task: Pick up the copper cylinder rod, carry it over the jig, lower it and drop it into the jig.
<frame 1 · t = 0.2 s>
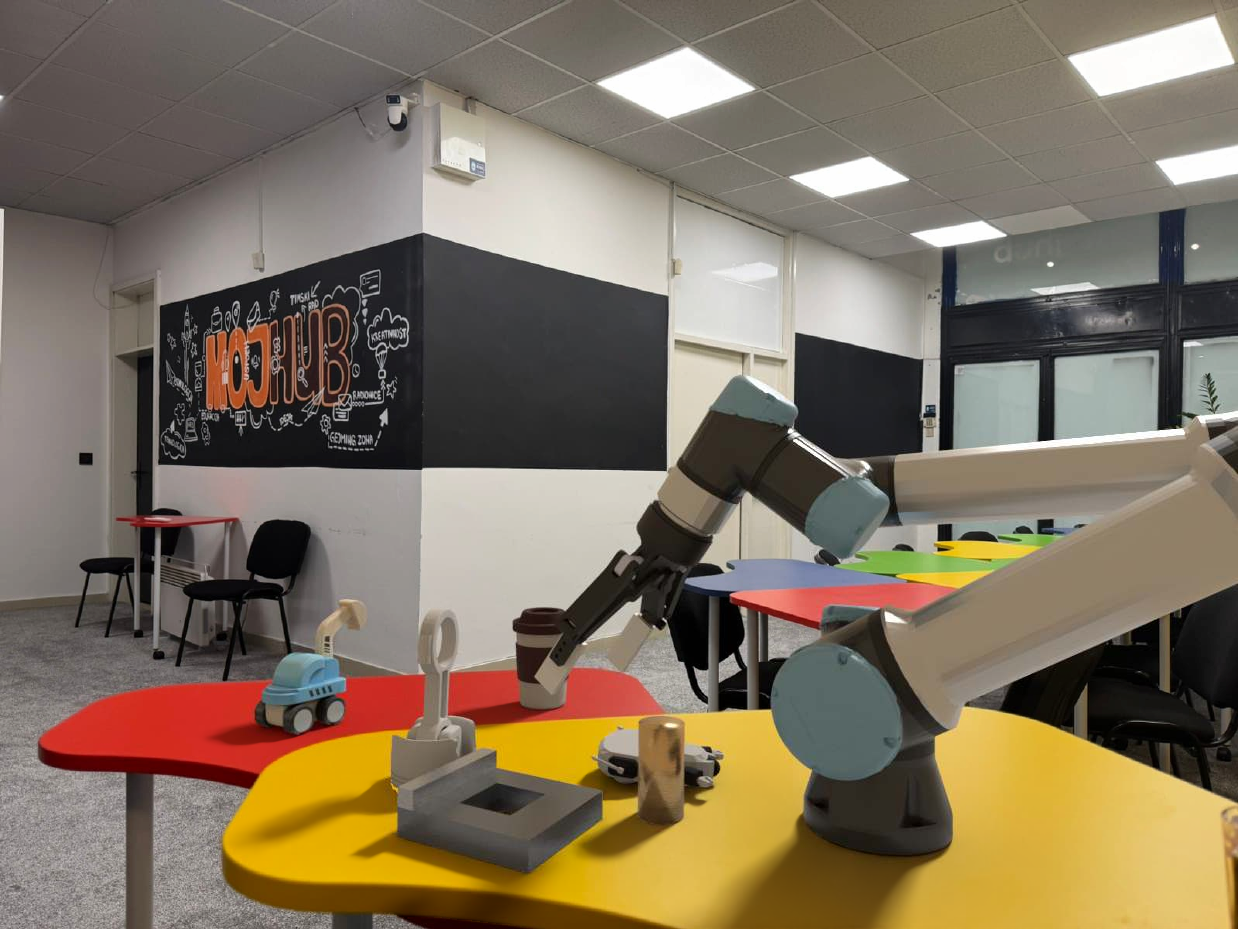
hand: (582, 674, 90), 15 cm above the table, tool tilted 35°, fingers open, 13 cm apart
engine component: (435, 781, 100), on the table
jig: (502, 827, 87), on the table
robot toy: (658, 781, 101), on the table
coffee cup: (542, 705, 133), on the table
copper cylinder rod: (660, 815, 90), on the table
toy excavator: (317, 722, 123), on the table
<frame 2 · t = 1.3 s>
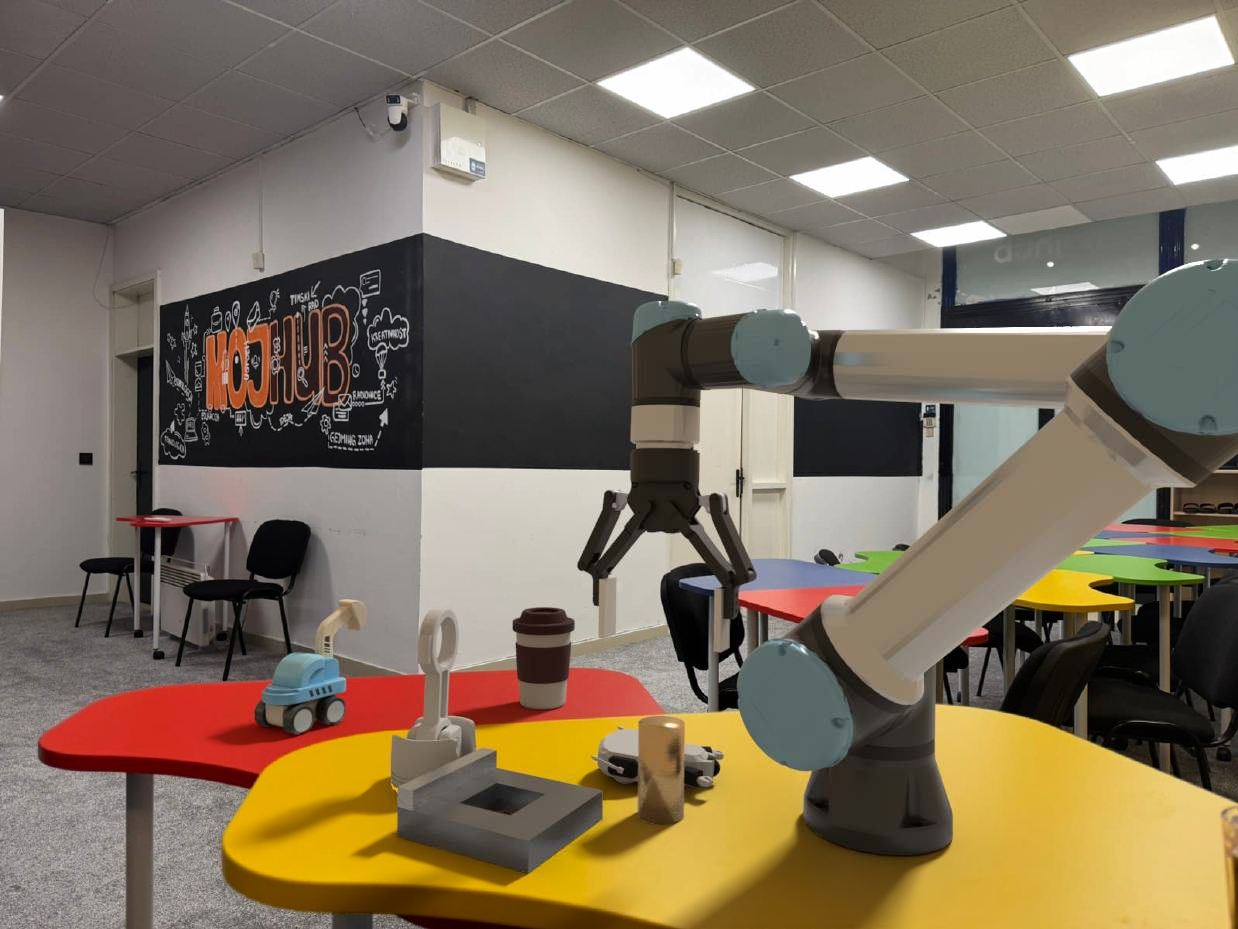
hand: (662, 643, 90), 19 cm above the table, tool pointing down, fingers open, 13 cm apart
nothing on the table moved.
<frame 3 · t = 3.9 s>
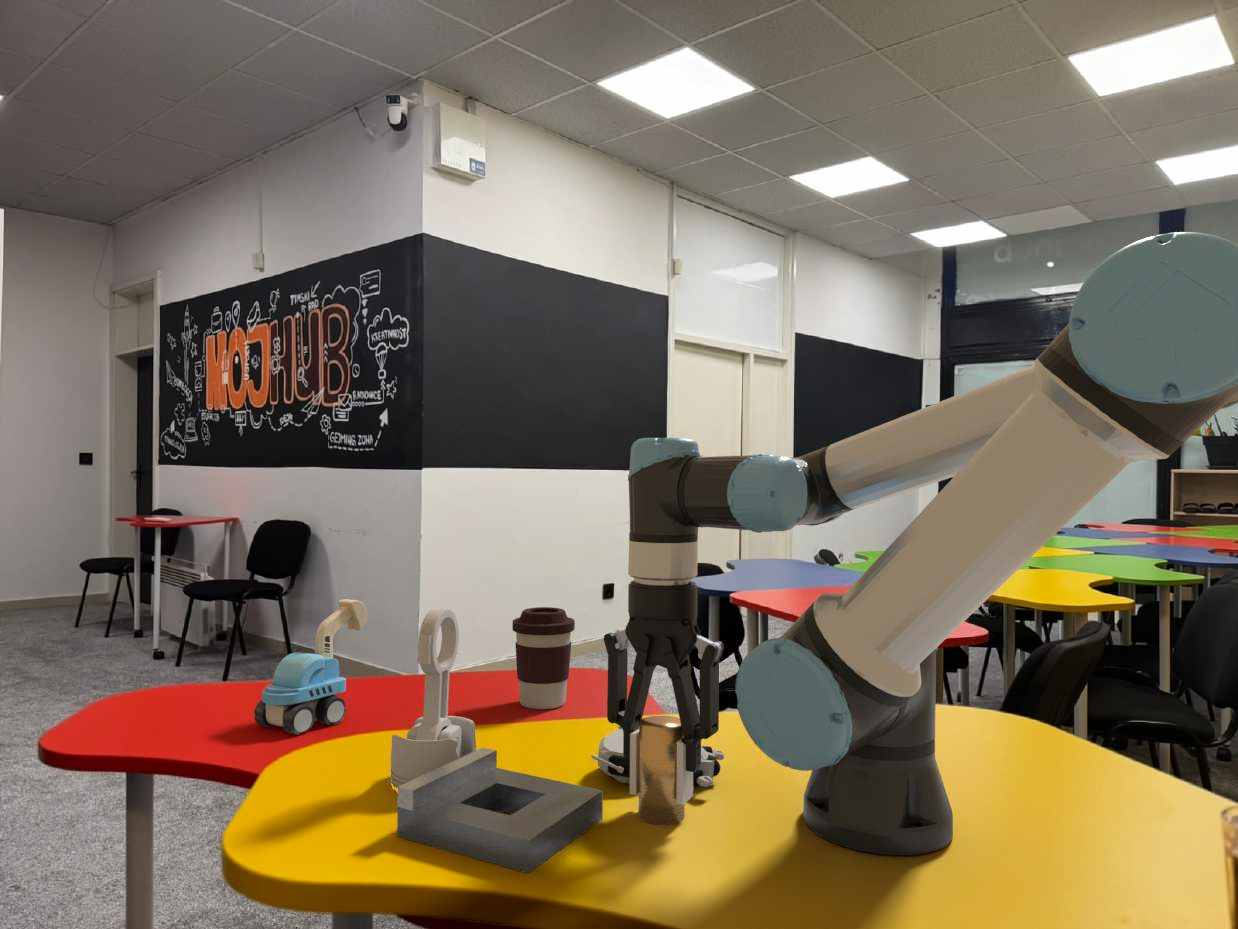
hand: (661, 794, 90), 2 cm above the table, tool pointing down, fingers closed on copper cylinder rod, 5 cm apart
copper cylinder rod: (661, 815, 90), on the table, touching gripper
everything else where it was.
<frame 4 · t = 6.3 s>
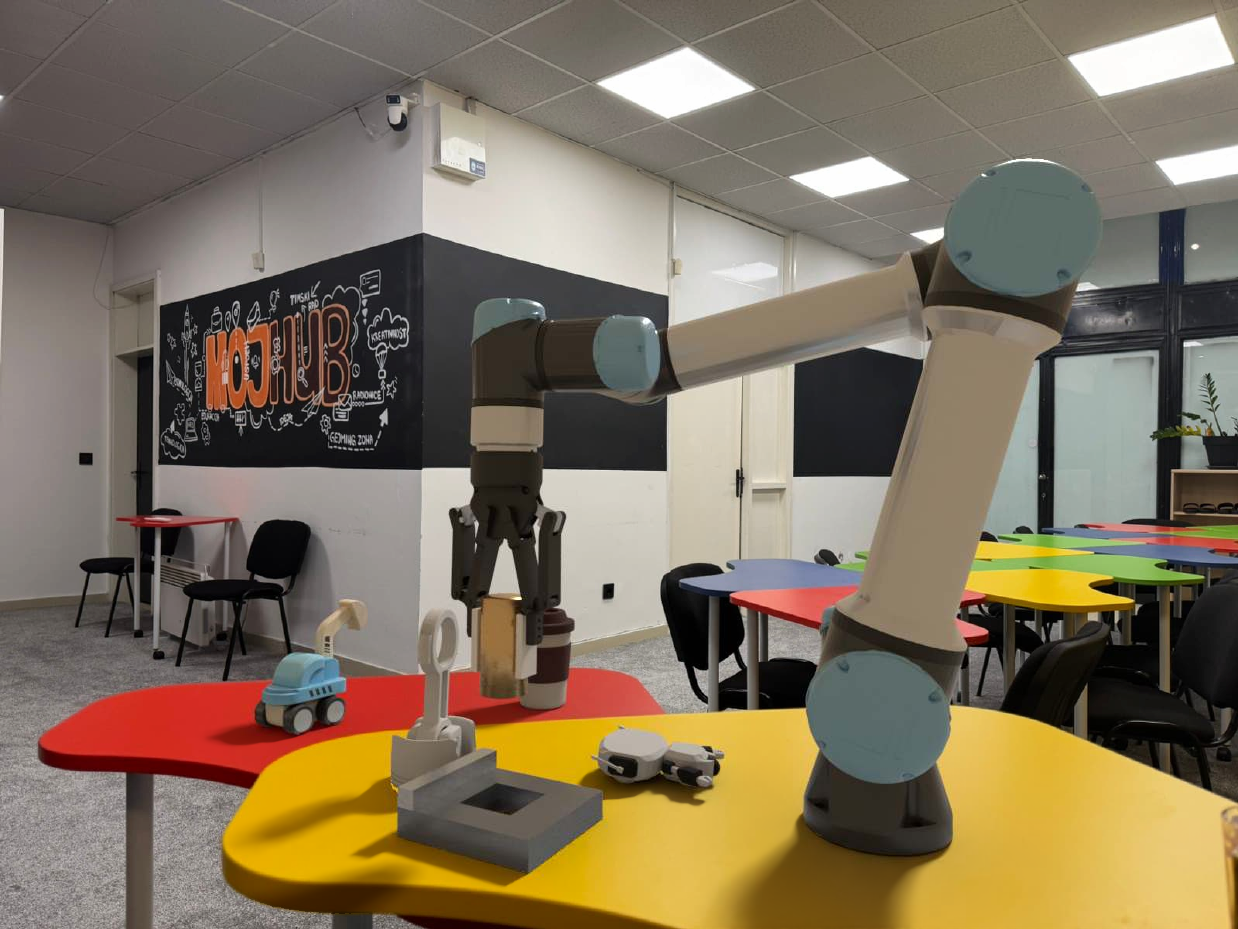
hand: (503, 672, 87), 16 cm above the table, tool pointing down, fingers closed on copper cylinder rod, 5 cm apart
copper cylinder rod: (503, 692, 87), point 14 cm above the table, touching gripper
everything else where it was.
when the fingers open (4 cm above the table, at t = 8.5 s): copper cylinder rod drops 2 cm, resting in jig.
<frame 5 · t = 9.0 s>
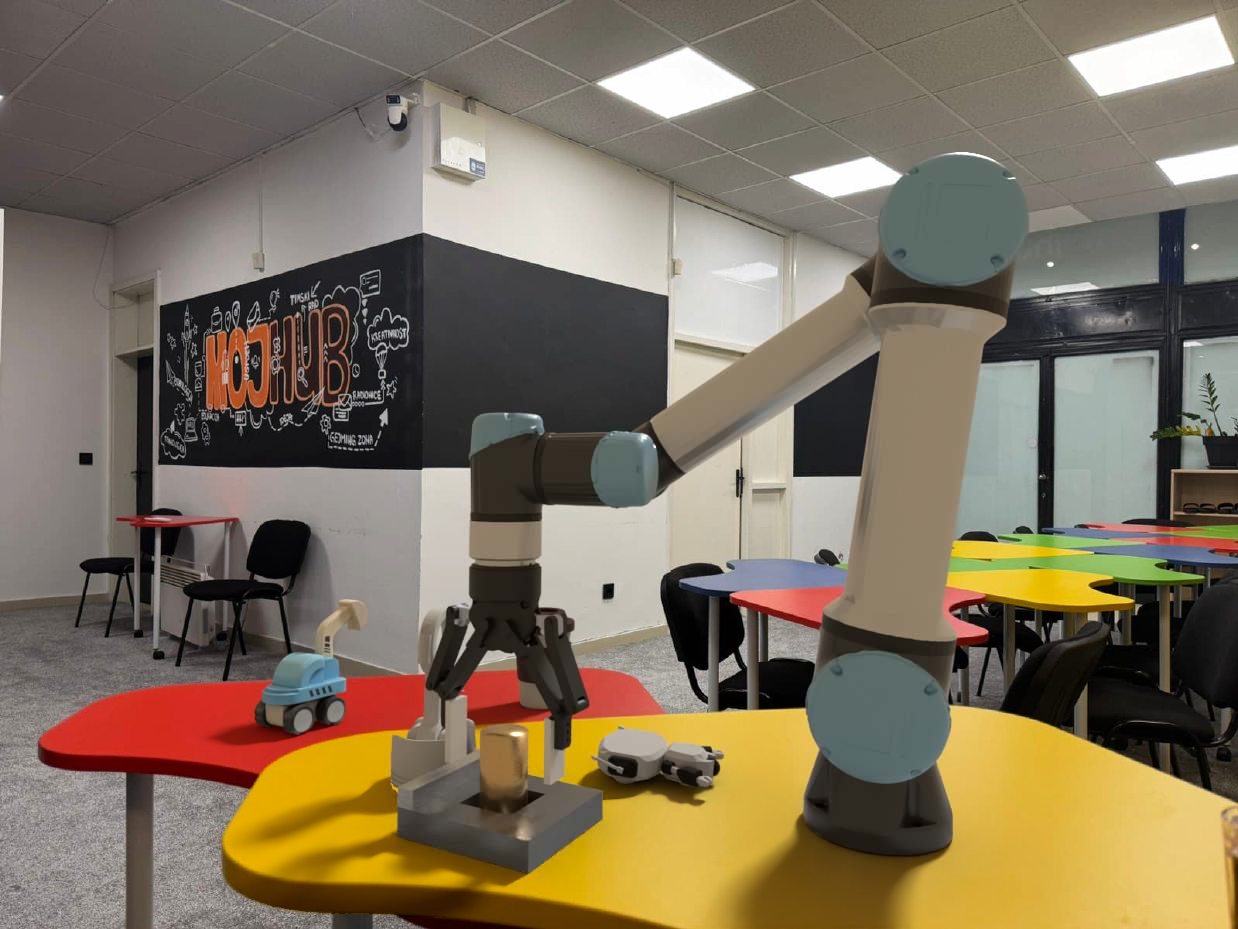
hand: (503, 769, 87), 6 cm above the table, tool pointing down, fingers open, 12 cm apart
copper cylinder rod: (503, 827, 87), resting in jig
everything else where it was.
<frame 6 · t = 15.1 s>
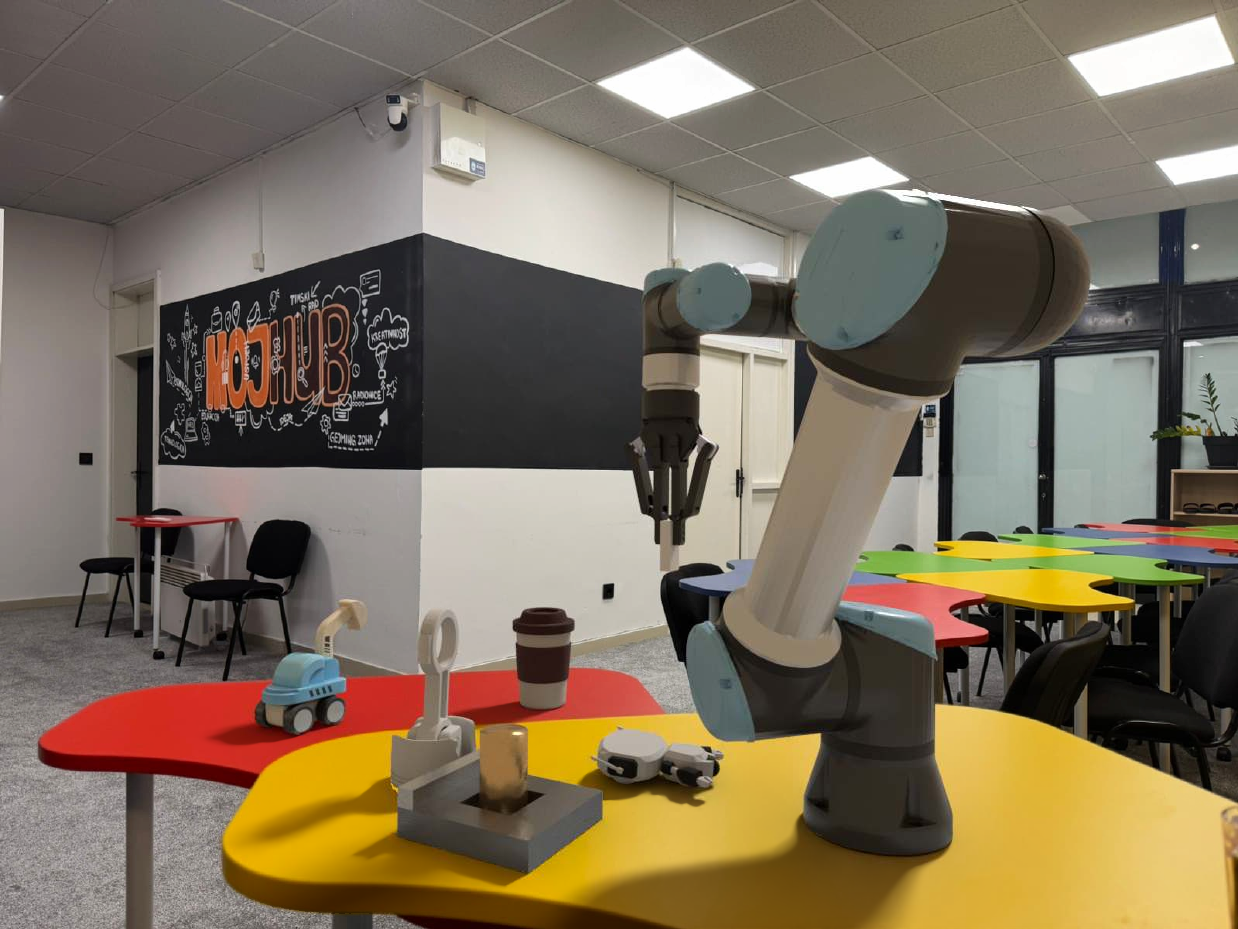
hand: (669, 570, 109), 24 cm above the table, tool pointing down, fingers closed
nothing on the table moved.
at the end: copper cylinder rod 0.1 cm off-centre on the jig, point 0.0 cm above the jig's base; copper cylinder rod tilted 1°; the gripper is holding nothing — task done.
